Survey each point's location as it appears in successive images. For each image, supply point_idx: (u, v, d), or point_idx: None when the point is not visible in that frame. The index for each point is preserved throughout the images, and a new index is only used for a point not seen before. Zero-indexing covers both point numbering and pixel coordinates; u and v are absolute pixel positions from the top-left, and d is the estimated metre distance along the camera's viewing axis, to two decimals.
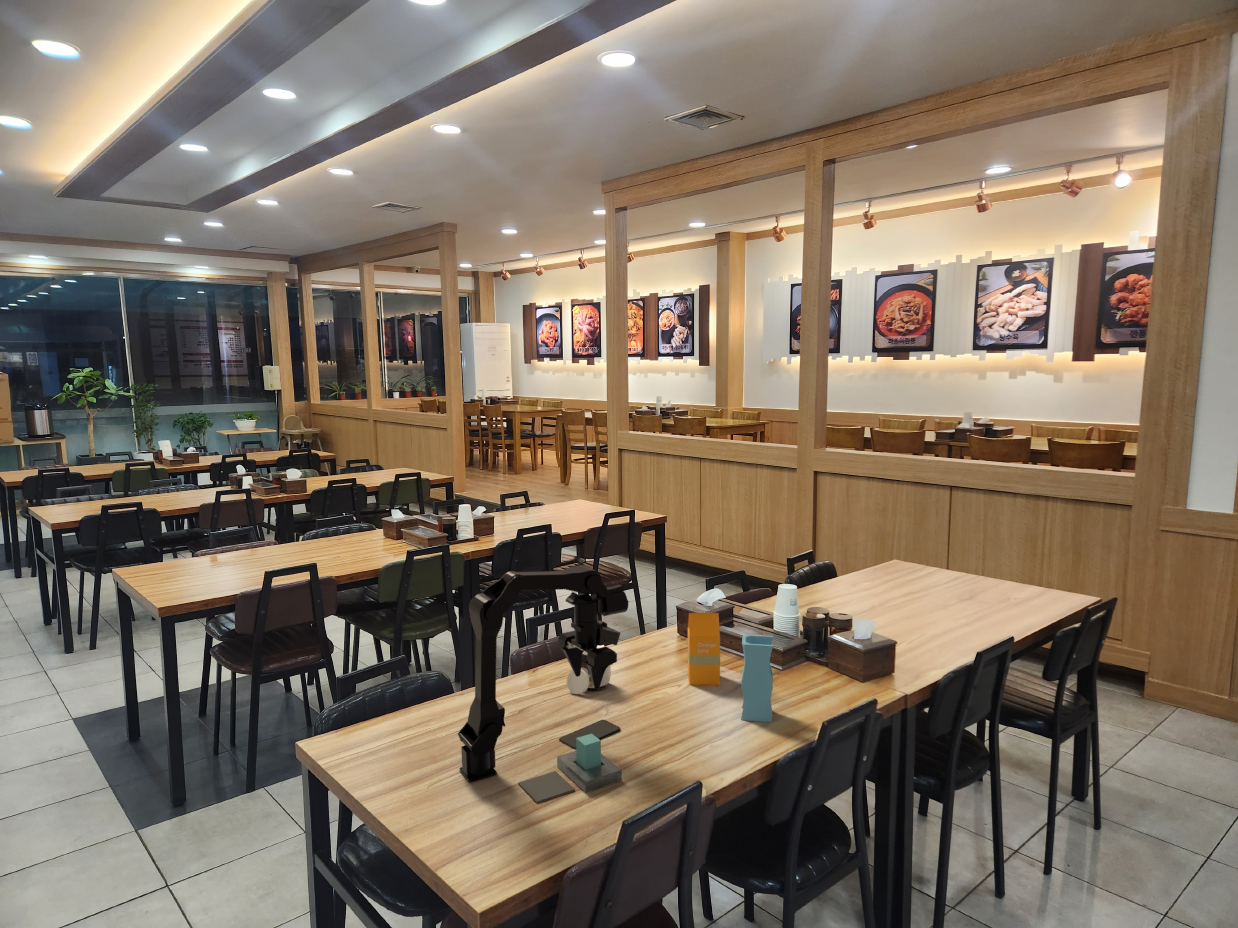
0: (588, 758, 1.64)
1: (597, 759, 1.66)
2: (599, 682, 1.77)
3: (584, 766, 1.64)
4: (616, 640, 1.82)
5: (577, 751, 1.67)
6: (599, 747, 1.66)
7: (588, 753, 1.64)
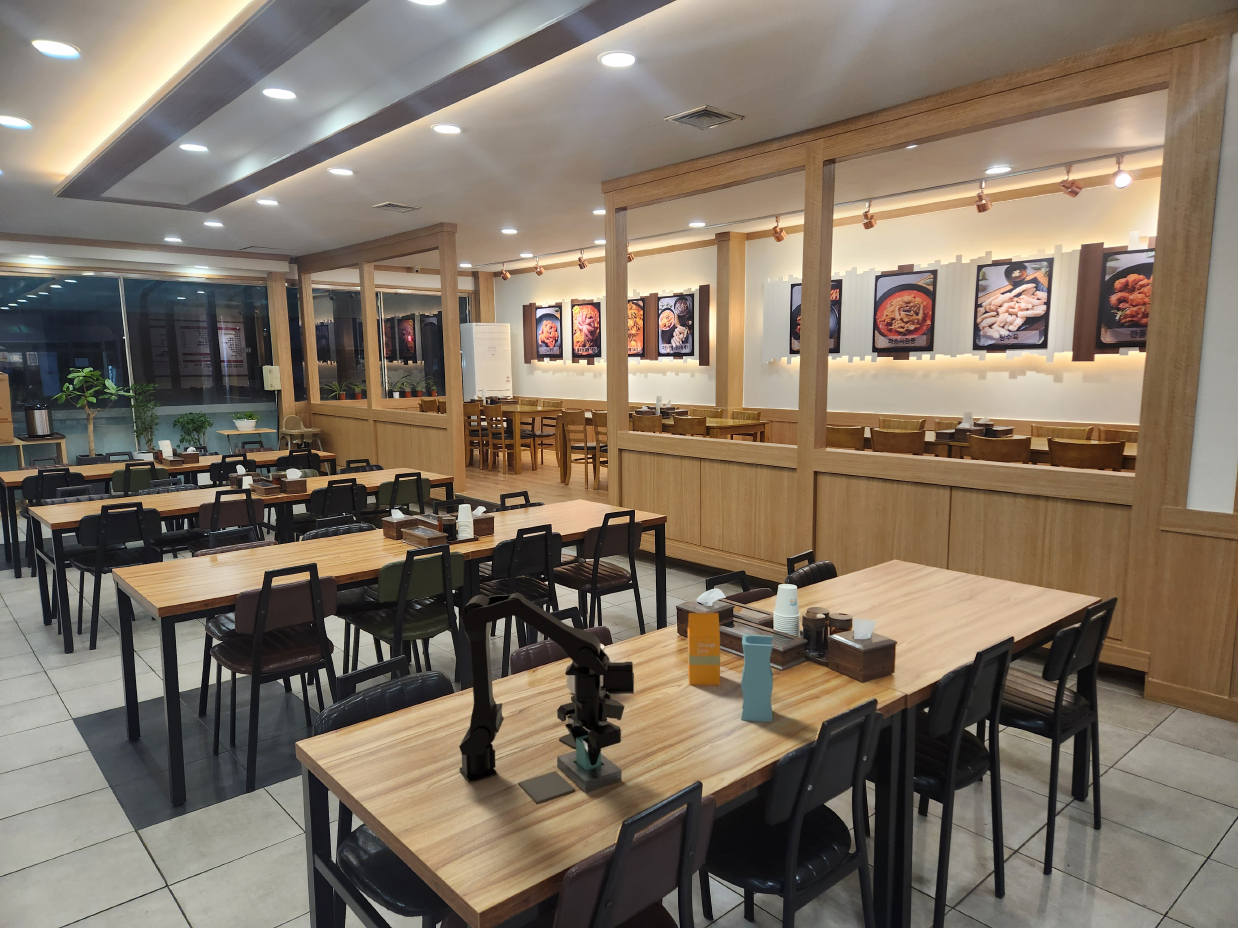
0: (588, 758, 1.64)
1: None
2: (596, 758, 1.64)
3: (584, 766, 1.64)
4: (620, 714, 1.67)
5: (577, 751, 1.67)
6: None
7: None
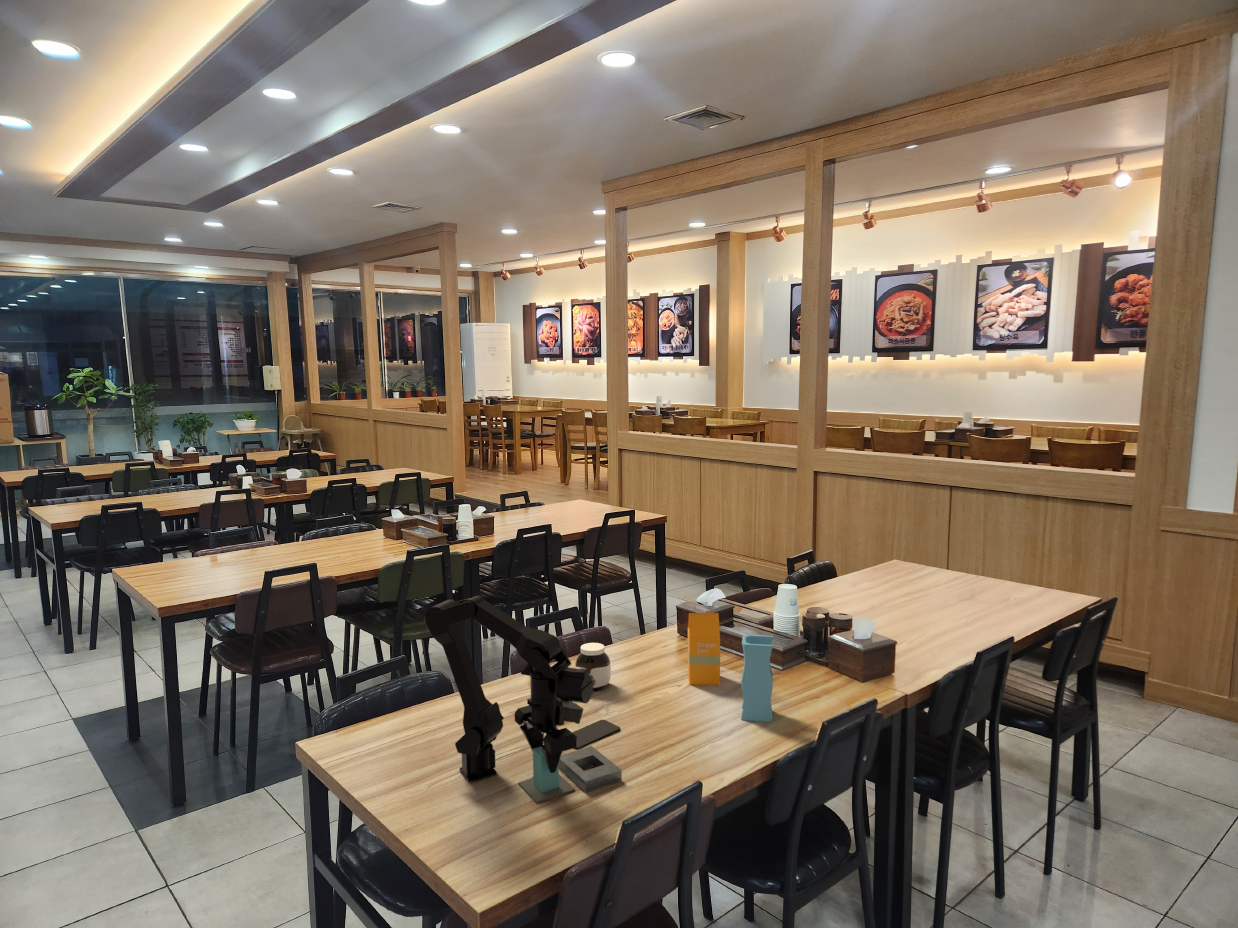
0: (545, 770, 1.59)
1: None
2: (555, 765, 1.58)
3: (540, 778, 1.59)
4: (578, 718, 1.62)
5: (534, 762, 1.61)
6: None
7: (545, 765, 1.59)
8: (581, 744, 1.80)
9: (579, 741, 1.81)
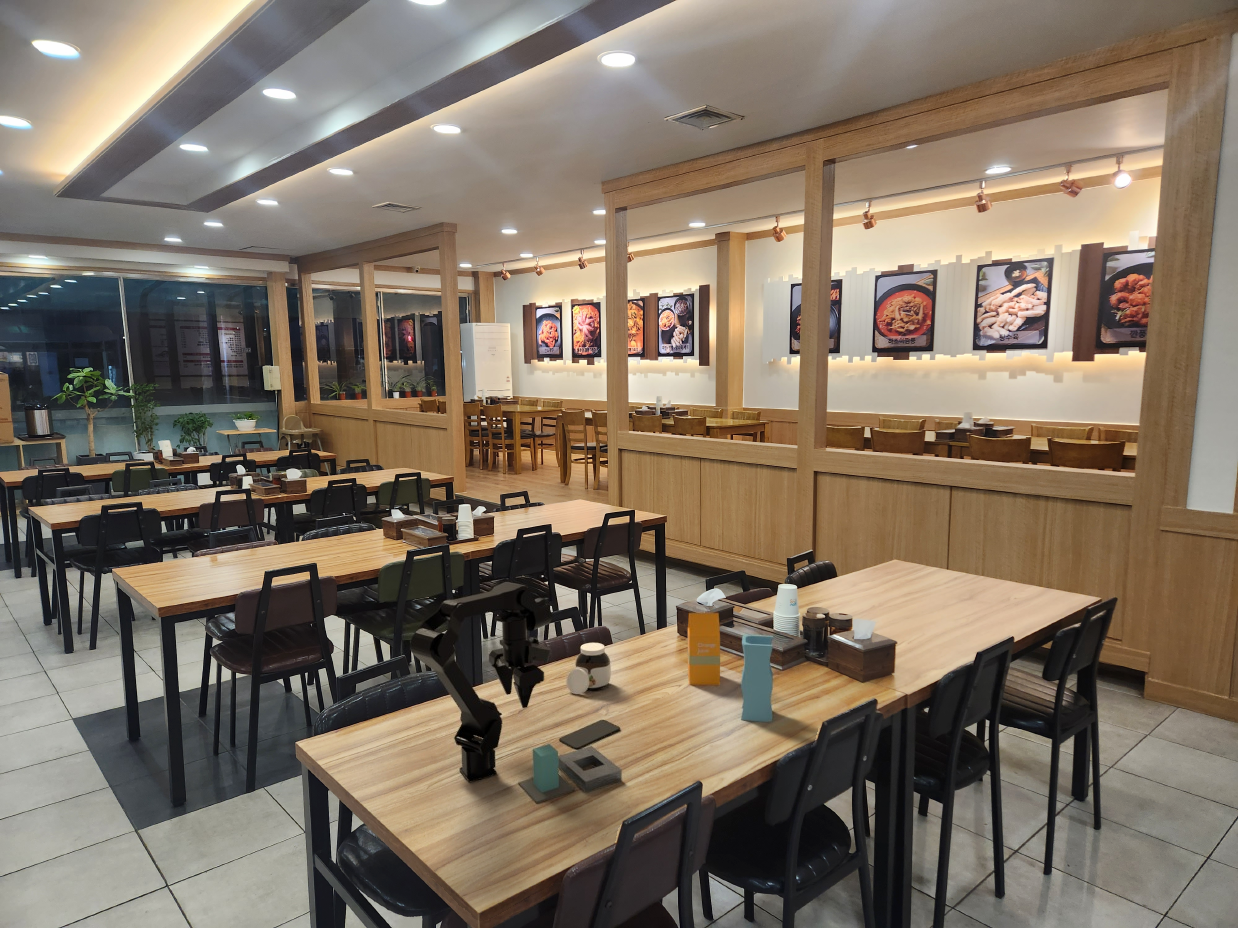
0: (545, 770, 1.59)
1: (554, 770, 1.60)
2: (527, 701, 1.73)
3: (540, 778, 1.59)
4: (546, 657, 1.78)
5: (534, 762, 1.61)
6: (556, 758, 1.60)
7: (545, 765, 1.59)
8: (581, 744, 1.80)
9: (579, 741, 1.81)
